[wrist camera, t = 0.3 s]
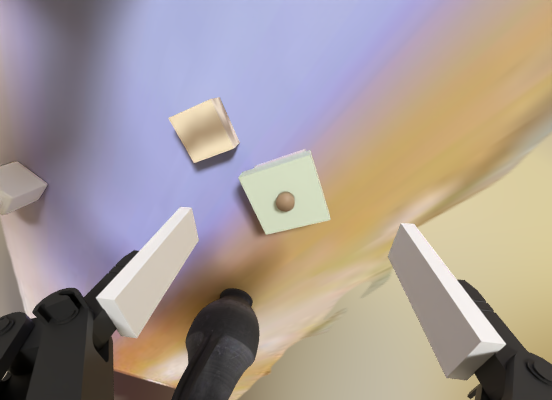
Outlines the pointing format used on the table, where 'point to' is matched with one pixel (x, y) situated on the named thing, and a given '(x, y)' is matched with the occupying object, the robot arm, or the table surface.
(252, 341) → the pitcher
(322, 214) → the lid
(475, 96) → the table surface
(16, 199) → the medicine bottle
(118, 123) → the table surface
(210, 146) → the stand
